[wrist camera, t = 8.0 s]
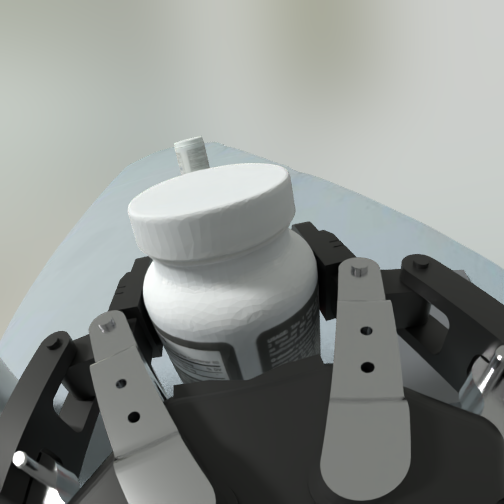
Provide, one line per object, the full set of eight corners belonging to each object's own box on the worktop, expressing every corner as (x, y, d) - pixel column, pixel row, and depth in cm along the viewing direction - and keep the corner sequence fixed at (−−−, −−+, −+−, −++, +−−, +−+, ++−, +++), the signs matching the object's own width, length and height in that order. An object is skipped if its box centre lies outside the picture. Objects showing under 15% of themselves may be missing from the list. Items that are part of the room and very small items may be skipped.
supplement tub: (215, 176, 96) (207, 134, 90) (207, 184, 88) (197, 138, 81) (189, 180, 99) (180, 140, 92) (179, 188, 91) (168, 144, 84)
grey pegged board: (355, 416, 18) (361, 391, 17) (357, 280, 33) (357, 253, 32) (508, 399, 14) (527, 371, 12) (461, 278, 29) (467, 252, 27)
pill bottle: (294, 339, 16) (272, 152, 11) (340, 419, 11) (356, 183, 6) (193, 368, 15) (126, 186, 10) (210, 460, 10) (87, 250, 5)
